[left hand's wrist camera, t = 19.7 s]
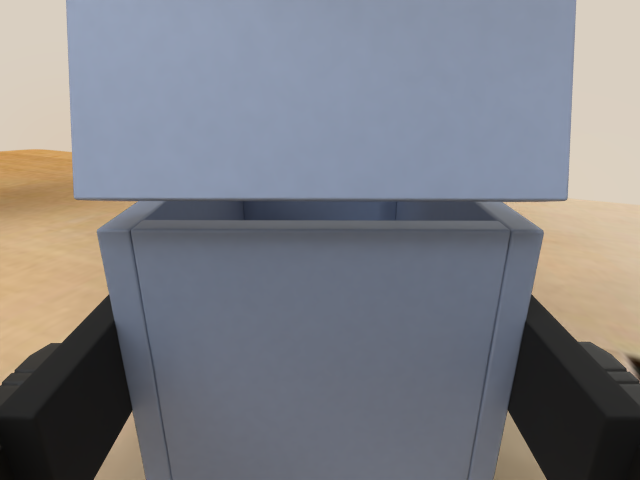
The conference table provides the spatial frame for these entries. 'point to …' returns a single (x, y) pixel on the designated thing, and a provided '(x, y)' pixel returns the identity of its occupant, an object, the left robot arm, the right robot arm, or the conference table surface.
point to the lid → (321, 100)
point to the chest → (319, 335)
